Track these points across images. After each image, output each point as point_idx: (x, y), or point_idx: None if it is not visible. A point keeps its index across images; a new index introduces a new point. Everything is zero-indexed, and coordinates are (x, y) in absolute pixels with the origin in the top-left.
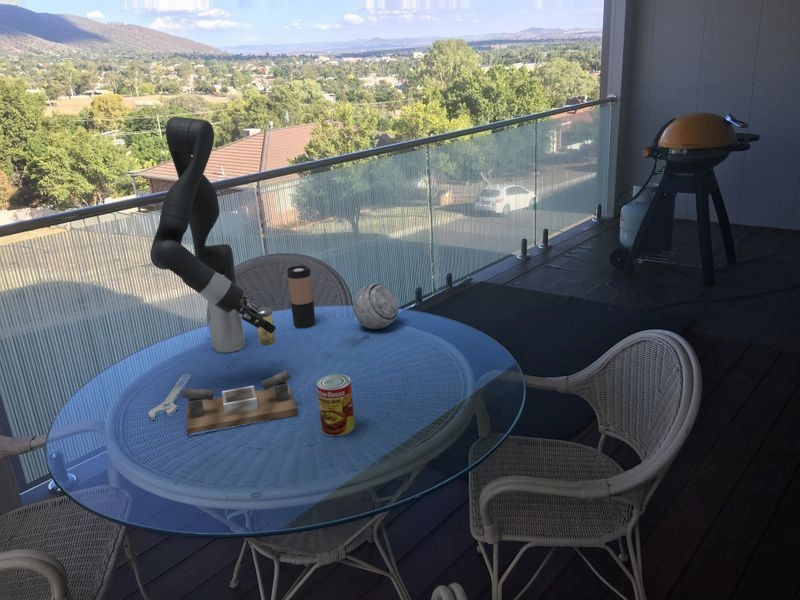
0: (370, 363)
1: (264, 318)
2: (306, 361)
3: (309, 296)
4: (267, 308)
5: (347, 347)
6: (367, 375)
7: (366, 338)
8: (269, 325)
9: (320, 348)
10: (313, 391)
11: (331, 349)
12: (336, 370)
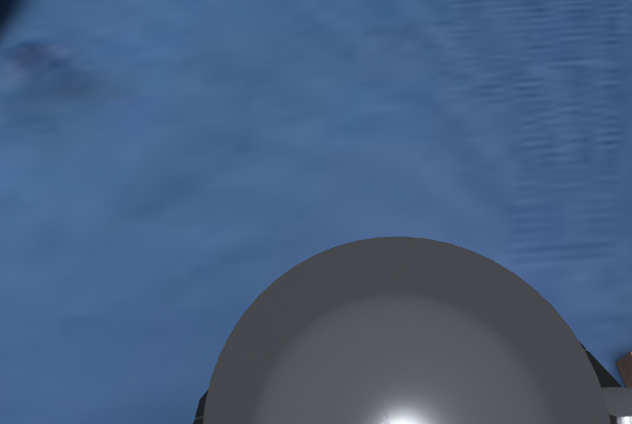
0: (319, 20)
1: (606, 402)
2: (203, 294)
3: None
4: (320, 329)
5: (105, 115)
6: (444, 22)
7: (41, 51)
8: (586, 353)
9: (59, 234)
10: (611, 229)
11: (97, 181)
12: (362, 142)
